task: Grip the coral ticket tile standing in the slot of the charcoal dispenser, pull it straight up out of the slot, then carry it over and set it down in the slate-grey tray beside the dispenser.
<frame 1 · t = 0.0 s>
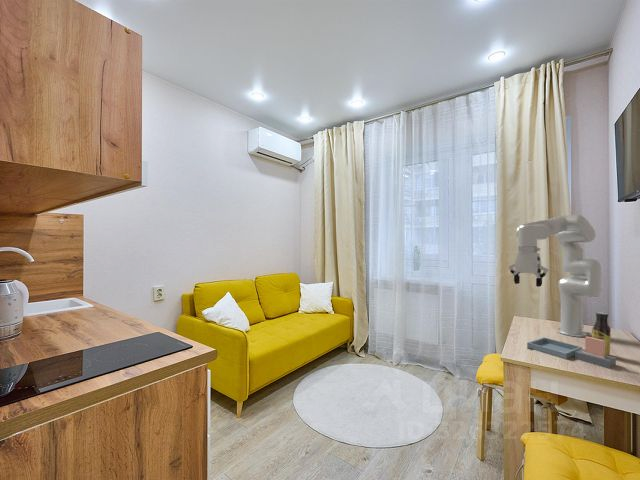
hand: (527, 284, 143), 31 cm above the table, tool pointing down, fingers open, 9 cm apart
dispenser: (594, 362, 126), on the table
tray: (554, 351, 139), on the table
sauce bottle: (600, 356, 134), on the table
ticket: (594, 361, 126), resting on dispenser
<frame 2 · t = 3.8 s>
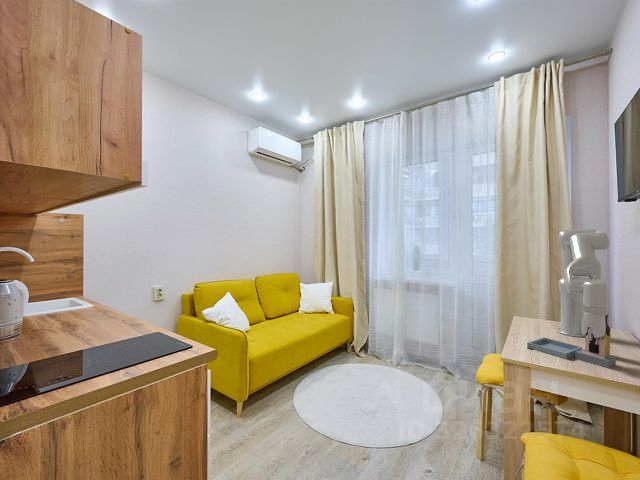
hand: (594, 352, 126), 5 cm above the table, tool pointing down, fingers closed on ticket, 1 cm apart
ticket: (594, 361, 126), point 1 cm above the table, touching gripper
everything else where it was.
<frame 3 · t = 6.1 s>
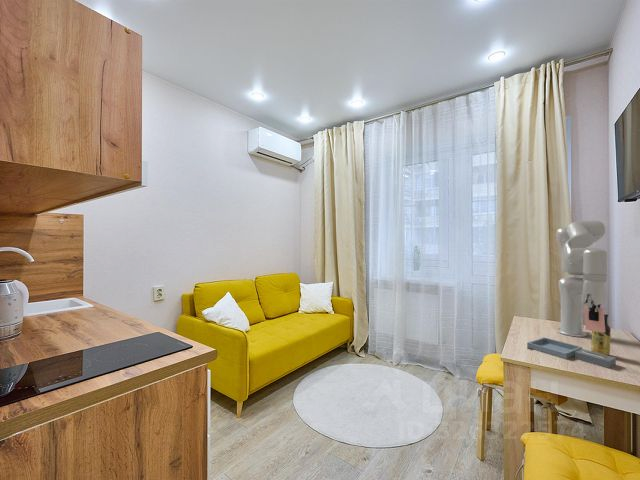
hand: (594, 319, 126), 19 cm above the table, tool pointing down, fingers closed on ticket, 1 cm apart
ticket: (595, 330, 126), point 14 cm above the table, touching gripper
everything else where it was.
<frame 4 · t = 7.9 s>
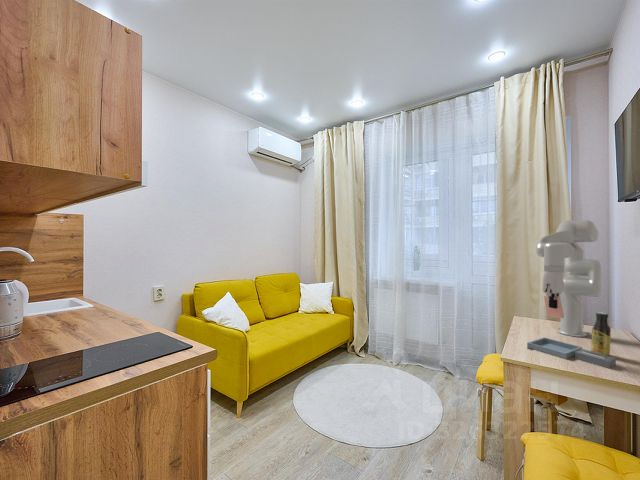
hand: (554, 307, 139), 21 cm above the table, tool pointing down, fingers closed on ticket, 1 cm apart
ticket: (555, 317, 139), point 16 cm above the table, tilted 9°, touching gripper
everything else where it was.
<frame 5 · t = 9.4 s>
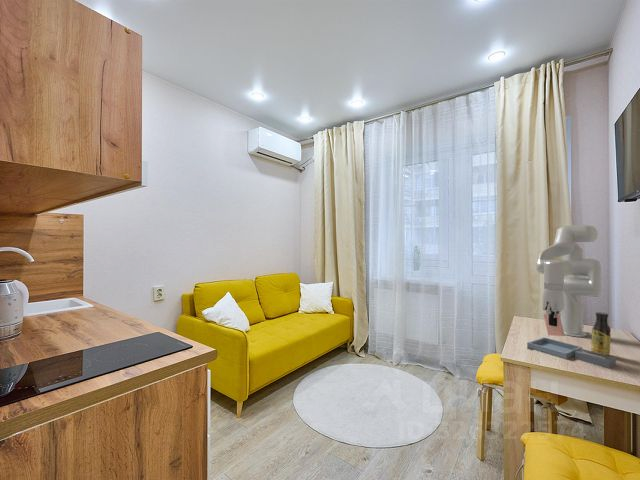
hand: (553, 325, 139), 12 cm above the table, tool pointing down, fingers closed on ticket, 1 cm apart
ticket: (556, 335, 138), point 8 cm above the table, tilted 13°, touching gripper
everything else where it was.
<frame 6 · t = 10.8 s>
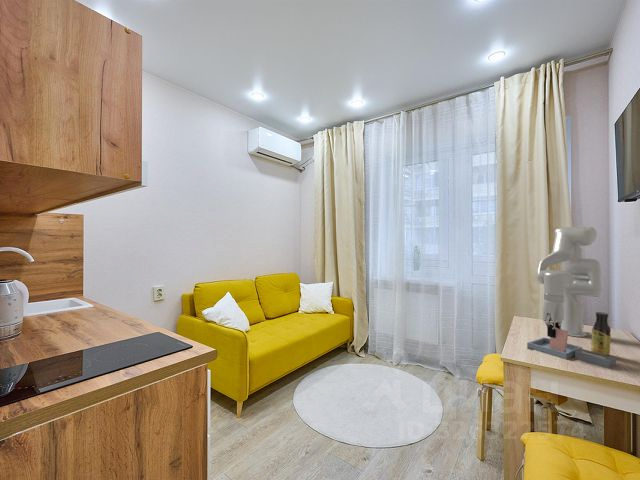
hand: (554, 335, 139), 7 cm above the table, tool pointing down, fingers open, 3 cm apart
ticket: (557, 349, 138), point 1 cm above the table, tilted 5°, touching tray
everything else where it was.
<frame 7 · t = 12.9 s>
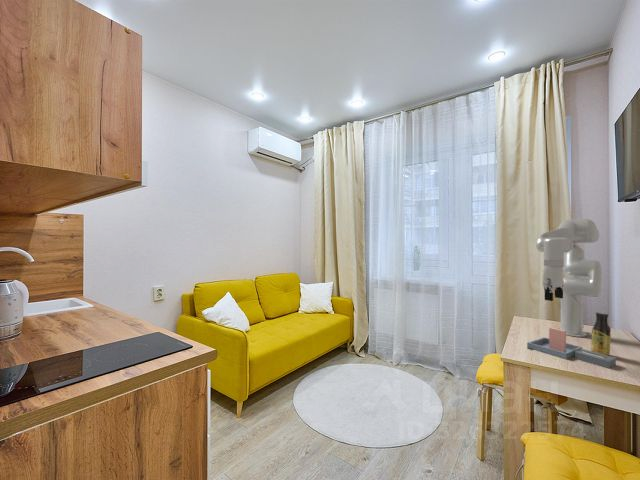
hand: (553, 299, 141), 25 cm above the table, tool pointing down, fingers open, 9 cm apart
ticket: (557, 350, 138), point 1 cm above the table, touching tray
everything else where it was.
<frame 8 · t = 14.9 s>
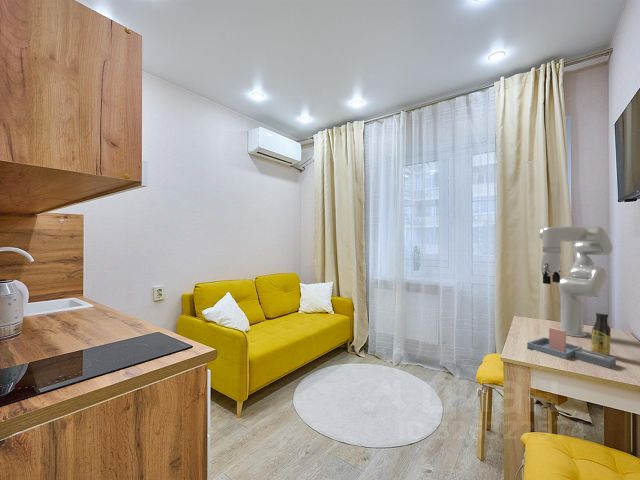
hand: (551, 282, 154), 30 cm above the table, tool pointing down, fingers open, 9 cm apart
nothing on the table moved.
at the end: ticket inside the target area on the tray (1.3 cm from its centre), point 0.8 cm above the tray's base; the gripper is holding nothing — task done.
